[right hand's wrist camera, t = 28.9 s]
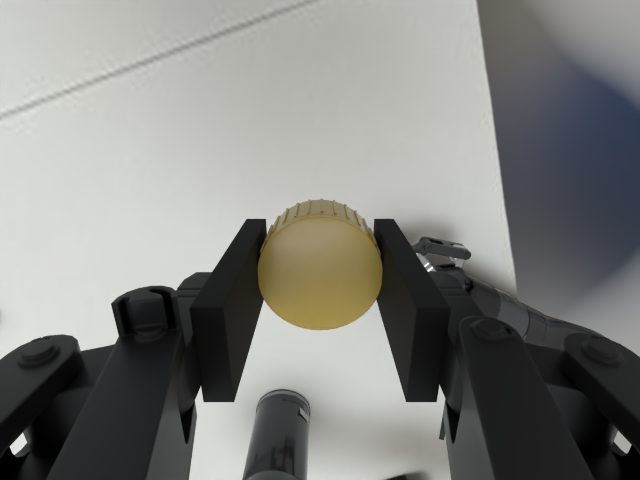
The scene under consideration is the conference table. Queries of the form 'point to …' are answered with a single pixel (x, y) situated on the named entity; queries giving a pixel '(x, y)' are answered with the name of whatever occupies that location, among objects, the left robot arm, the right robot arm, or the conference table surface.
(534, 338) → the left robot arm
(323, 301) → the cap
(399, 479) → the black angled piece
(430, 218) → the conference table surface
